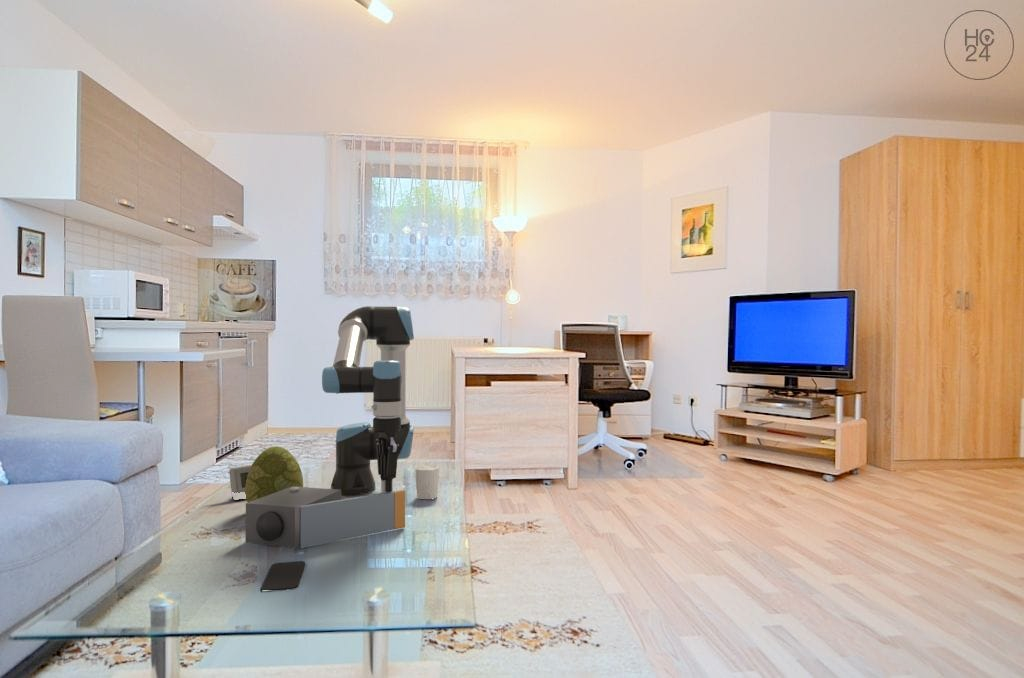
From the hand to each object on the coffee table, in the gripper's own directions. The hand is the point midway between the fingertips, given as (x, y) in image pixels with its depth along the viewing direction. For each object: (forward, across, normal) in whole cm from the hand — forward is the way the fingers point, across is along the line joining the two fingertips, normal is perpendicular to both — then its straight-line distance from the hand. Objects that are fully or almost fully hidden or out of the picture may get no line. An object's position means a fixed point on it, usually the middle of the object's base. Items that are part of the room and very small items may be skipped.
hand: (386, 502), depth 158 cm
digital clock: (+8, -59, -25) cm, 65 cm away
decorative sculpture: (+8, -35, -23) cm, 43 cm away
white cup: (+8, -26, +23) cm, 36 cm away
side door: (+7, +2, -10) cm, 13 cm away
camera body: (+8, -10, -22) cm, 25 cm away
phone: (+8, +19, -30) cm, 36 cm away
